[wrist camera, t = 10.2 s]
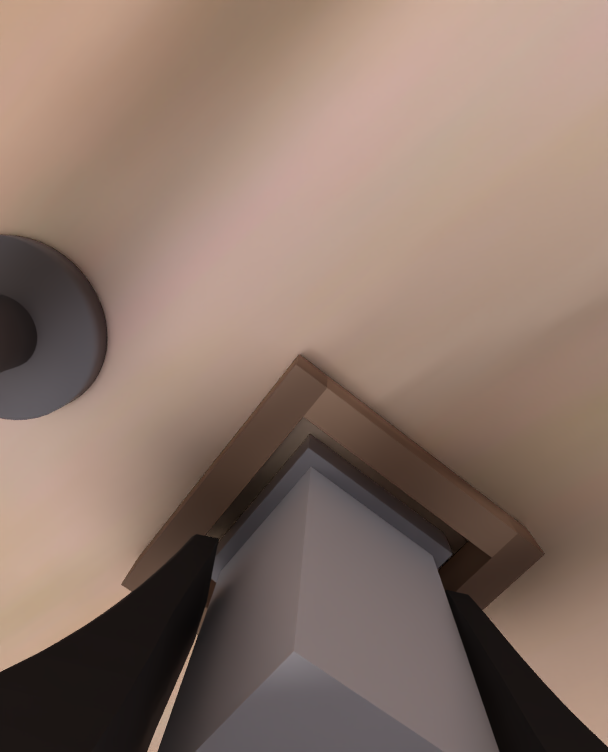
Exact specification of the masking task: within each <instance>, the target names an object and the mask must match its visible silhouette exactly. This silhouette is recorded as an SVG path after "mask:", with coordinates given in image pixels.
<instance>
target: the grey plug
mask: <svg viewBox="0 0 608 752" xmlns="http://www.w3.org/2000/svg"><path fill="white" fill-rule="evenodd" d="M452 554H453V553H452V551H451V548H450V546H449V544H448V541H447V539H446V536H445V534H444V533H443V532H442V531H440V530H439V529H437V528H436V527H435V526H433V525H432V524H431V523H429V522H428V521H427V520H425V519H424V518H423V517H421V516H420V515H419V514H417V513H416V512H415V511H413V510H412V509H411V508H409V507H408V506H407V505H405V504H404V503H402V502H401V501H400V500H398V499H397V498H396V497H394V496H393V495H392V494H390V493H389V492H388V491H386V490H385V489H384V488H382V487H381V486H380V485H378V484H377V483H376V482H374V481H373V480H372V479H370V478H369V477H367V476H366V475H365V474H363V473H362V472H361V471H359V470H358V469H357V468H355V467H354V466H353V465H351V464H350V463H349V462H347V461H346V460H345V459H343V458H342V457H341V456H339V455H338V454H337V453H335V452H334V451H332V450H331V449H330V448H328V447H327V446H326V445H324V444H323V443H322V442H320V441H319V440H318V439H316V438H315V437H314V436H312V435H311V434H309V436H308V437H307V438H306V439H305V440H304V441H303V443H302V444H301V445H300V446H299V447H298V449H297V450H296V451H295V452H294V453H293V455H292V456H291V457H290V458H289V459H288V460H287V462H286V463H285V464H284V465H283V466H282V468H281V469H280V470H279V471H278V472H277V474H276V475H275V476H274V477H273V478H272V479H271V481H270V482H269V483H268V484H267V485H266V487H265V488H264V489H263V490H262V491H261V493H260V494H259V495H258V496H257V497H256V498H255V500H254V501H253V502H252V503H251V504H250V506H249V507H248V508H247V509H246V510H245V512H244V513H243V514H242V515H241V516H240V517H239V519H238V520H237V521H236V522H235V523H234V525H233V526H232V527H231V528H230V529H229V531H228V532H227V533H226V534H225V535H224V536H223V538H222V539H221V540H220V541H219V542H218V545H217V551H216V556H215V561H214V566H213V572H212V577H211V579H212V580H213V581H215V582H216V586H215V589H214V591H213V594H212V597H211V600H210V603H209V606H208V609H207V611H206V614H205V617H204V620H203V623H202V626H201V629H200V632H199V634H198V637H197V640H196V643H195V646H194V649H193V652H192V655H191V657H190V660H189V663H188V666H187V669H186V672H185V675H184V678H183V680H182V683H181V686H180V689H179V692H178V695H177V698H176V701H175V703H174V706H173V709H172V712H171V715H170V718H169V721H168V723H167V726H166V729H165V732H164V735H163V738H162V741H161V744H160V746H159V749H158V752H499V749H498V746H497V743H496V740H495V737H494V735H493V732H492V729H491V726H490V723H489V720H488V717H487V714H486V711H485V708H484V705H483V702H482V699H481V696H480V693H479V690H478V688H477V685H476V682H475V679H474V676H473V673H472V670H471V667H470V664H469V661H468V658H467V655H466V652H465V649H464V646H463V643H462V640H461V638H460V635H459V632H458V629H457V626H456V623H455V620H454V617H453V614H452V611H451V608H450V605H449V602H448V599H447V596H446V593H445V590H444V588H443V585H442V582H441V579H440V576H439V573H438V570H437V569H438V568H439V567H440V566H441V565H442V564H443V563H444V562H445V561H446V560H447V559H448V558H449V557H450V556H451V555H452Z"/></svg>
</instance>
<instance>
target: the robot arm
mask: <svg viewBox="0 0 608 752" xmlns="http://www.w3.org/2000/svg"><path fill="white" fill-rule="evenodd" d="M218 540H219V539H217V538H212V537H208V536H203V535H199V534H196V535H194V536H192V537H191V538H190V539H189V540H188V541H187V542H186V543H185V544H184V546H183V547H182V548H181V549H180V550H179V551H178V552H177V553H176V554H175V555H174V556H172V557H171V558H170V559H169V560H168V561H167V562H166V563H165V564H164V565H163V566H162V567H161V568H160V569H158V570H157V571H156V572H155V573H154V574H153V575H152V576H150V577H149V578H148V579H147V580H146V581H145V582H144V583H142V584H141V585H140V586H139V587H137V588H136V589H135V590H134V591H132V592H131V593H130V594H128V595H127V596H126V597H125V598H123V599H122V600H121V601H120V602H118V603H117V604H116V605H114V606H113V607H111V608H110V609H109V610H107V611H106V612H104V613H103V614H102V615H100V616H99V617H97V618H96V619H94V620H93V621H91V622H90V623H88V624H87V625H85V626H84V627H82V628H80V629H79V630H77V631H75V632H74V633H72V634H70V635H69V636H67V637H65V638H64V639H62V640H60V641H59V642H57V643H55V644H54V645H52V646H50V647H48V648H47V649H45V650H43V651H41V652H39V653H37V654H36V655H34V656H32V657H30V658H28V659H26V660H24V661H22V662H20V663H18V664H15V665H13V666H11V667H9V668H7V669H5V670H3V671H1V672H0V752H147V750H148V748H149V745H150V743H151V740H152V738H153V735H154V733H155V730H156V728H157V725H158V723H159V721H160V719H161V716H162V714H163V712H164V709H165V707H166V705H167V703H168V700H169V698H170V696H171V693H172V691H173V689H174V686H175V684H176V682H177V680H178V677H179V675H180V673H181V670H182V668H183V666H184V663H185V661H186V659H187V657H188V654H189V652H190V650H191V647H192V645H193V643H194V640H195V637H196V634H197V631H198V628H199V625H200V622H201V619H202V615H203V612H204V609H205V606H206V603H207V598H208V593H209V588H210V582H211V577H212V572H213V566H214V561H215V556H216V551H217V545H218ZM445 593H446V596H447V599H448V602H449V605H450V608H451V611H452V614H453V617H454V620H455V623H456V626H457V629H458V632H459V635H460V638H461V640H462V643H463V646H464V649H465V652H466V655H467V658H468V661H469V664H470V667H471V670H472V673H473V676H474V679H475V682H476V685H477V688H478V690H479V693H480V696H481V699H482V702H483V705H484V708H485V711H486V714H487V717H488V720H489V723H490V726H491V729H492V732H493V735H494V737H495V740H496V743H497V746H498V749H499V752H608V747H607V746H606V745H605V744H604V743H603V742H602V741H601V740H600V739H599V738H598V737H597V736H596V735H595V734H594V733H593V732H592V731H590V730H589V729H588V728H587V727H586V726H585V725H584V724H583V723H582V722H581V721H580V720H579V719H578V718H577V717H576V716H575V715H574V714H573V713H572V712H571V711H570V710H569V709H568V708H567V707H566V706H565V705H564V704H563V703H562V702H561V700H560V699H559V698H558V697H557V696H556V695H555V694H554V693H553V692H552V691H551V690H550V689H549V688H548V687H547V685H546V684H545V683H544V682H543V681H542V680H541V679H540V678H539V677H538V676H537V674H536V673H535V672H534V671H533V670H532V669H531V668H530V667H529V665H528V664H527V663H526V662H525V661H524V660H523V658H522V657H521V656H520V655H519V654H518V653H517V651H516V650H515V649H514V648H513V647H512V646H511V644H510V643H509V642H508V641H507V640H506V638H505V637H504V636H503V635H502V634H501V632H500V631H499V630H498V629H497V628H496V626H495V625H494V624H493V623H492V622H491V620H490V619H489V618H488V617H487V616H486V614H485V613H484V612H483V611H482V610H481V608H480V607H479V606H478V605H477V604H476V603H475V601H474V600H473V599H472V598H471V597H470V596H469V595H468V594H463V593H459V592H454V591H450V590H446V591H445Z"/></svg>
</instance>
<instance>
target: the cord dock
mask: <svg viewBox="0 0 608 752" xmlns="http://www.w3.org/2000/svg"><path fill="white" fill-rule="evenodd" d="M106 343H107V333H106V324H105V318H104V314H103V311H102V308H101V304H100V302H99V300H98V298H97V295H96V293H95V292H94V290H93V288H92V286H91V285H90V283H89V282H88V280H87V279H86V278H85V276H84V275H83V274H82V272H81V271H80V270H79V269H78V268H77V267H76V266H75V265H74V264H73V263H72V262H71V261H70V260H68V259H67V258H66V257H65V256H64V255H62V254H61V253H59V252H58V251H56V250H55V249H53V248H51V247H49V246H47V245H45V244H43V243H41V242H38V241H36V240H33V239H30V238H25V237H20V236H12V235H0V418H2V419H11V420H27V419H32V418H38V417H41V416H44V415H47V414H49V413H51V412H53V411H55V410H57V409H59V408H61V407H63V406H64V405H66V404H68V403H70V402H72V401H73V400H75V399H76V398H78V397H79V396H80V395H82V394H83V393H84V392H85V391H86V390H87V389H88V388H89V387H90V386H91V384H92V383H93V382H94V380H95V379H96V377H97V375H98V373H99V372H100V369H101V366H102V364H103V361H104V357H105V352H106ZM303 417H304V418H306V419H307V420H308V421H310V422H311V423H312V424H314V425H315V426H316V427H318V428H319V429H320V430H322V431H323V432H324V433H326V434H327V435H328V436H330V437H331V438H332V439H334V440H335V441H336V442H338V443H339V444H340V445H342V446H343V447H344V448H346V449H347V450H348V451H350V452H351V453H352V454H354V455H355V456H356V457H358V458H359V459H360V460H362V461H363V462H364V463H366V464H367V465H369V466H370V467H371V468H373V469H374V470H375V471H377V472H378V473H379V474H381V475H382V476H383V477H385V478H386V479H387V480H389V481H390V482H391V483H393V484H394V485H395V486H397V487H398V488H399V489H401V490H402V491H403V492H405V493H406V494H407V495H409V496H410V497H411V498H413V499H414V500H415V501H417V502H418V503H419V504H421V505H422V506H423V507H425V508H426V509H427V510H429V511H430V512H431V513H433V514H434V515H435V516H437V517H438V518H439V519H441V520H442V521H443V522H445V523H446V524H447V525H449V526H450V527H451V528H453V529H454V530H455V531H457V532H458V533H459V534H461V535H462V536H463V537H465V538H466V539H467V540H469V541H468V542H467V543H466V544H465V545H464V546H463V547H462V548H461V549H460V550H459V551H458V552H457V553H456V554H455V555H454V556H453V557H452V558H451V559H450V560H449V561H448V562H447V563H446V564H445V565H444V566H443V567H441V568H440V569H439V570H438V573H439V576H440V579H441V582H442V585H443V588H444V590H445V591H446V590H450V591H454V592H459V593H463V594H468V595H469V596H470V597H471V598H472V599H473V600H474V601H475V603H476V604H477V605H478V606H479V607H480V608H481V610H483V609H484V608H485V607H486V606H488V605H489V604H490V603H491V602H492V601H493V600H494V599H495V598H496V597H498V596H499V595H500V594H501V593H502V592H503V591H504V590H505V589H506V588H508V587H509V586H510V585H511V584H512V583H513V582H514V581H515V580H516V579H518V578H519V577H520V576H521V575H522V574H523V573H524V572H525V571H526V570H527V569H529V568H530V567H531V566H532V565H533V564H534V563H535V562H536V561H537V560H539V559H540V558H541V557H542V556H543V555H544V552H543V551H542V549H541V548H540V547H539V545H538V544H537V542H536V541H535V540H534V538H533V537H532V535H531V534H530V533H529V531H528V530H527V528H525V527H524V526H523V525H521V524H520V523H519V522H517V521H516V520H515V519H514V518H512V517H511V516H510V515H508V514H507V513H506V512H504V511H503V510H502V509H500V508H499V507H498V506H497V505H495V504H494V503H493V502H491V501H490V500H489V499H487V498H486V497H485V496H484V495H482V494H481V493H480V492H478V491H477V490H476V489H474V488H473V487H472V486H470V485H469V484H468V483H467V482H465V481H464V480H463V479H461V478H460V477H459V476H457V475H456V474H455V473H454V472H452V471H451V470H450V469H448V468H447V467H446V466H444V465H443V464H442V463H440V462H439V461H438V460H437V459H435V458H434V457H433V456H431V455H430V454H429V453H427V452H426V451H425V450H424V449H422V448H421V447H420V446H418V445H417V444H416V443H414V442H413V441H412V440H411V439H409V438H408V437H407V436H405V435H404V434H403V433H401V432H400V431H399V430H397V429H396V428H395V427H394V426H392V425H391V424H390V423H388V422H387V421H386V420H384V419H383V418H382V417H381V416H379V415H378V414H377V413H375V412H374V411H373V410H371V409H370V408H369V407H367V406H366V405H365V404H364V403H362V402H361V401H360V400H358V399H357V398H356V397H354V396H353V395H352V394H351V393H349V392H348V391H347V390H345V389H344V388H343V387H341V386H340V385H339V384H337V383H336V382H335V381H334V380H332V379H331V378H330V377H328V376H327V375H326V374H324V373H323V372H322V371H321V370H319V369H318V368H317V367H315V366H314V365H313V364H311V363H310V362H309V361H307V360H306V359H305V358H304V357H302V356H301V355H300V354H299V355H298V356H297V358H296V359H295V360H294V361H293V363H292V364H291V365H290V367H289V368H288V369H287V370H286V372H285V373H284V374H283V375H282V377H281V378H280V379H279V380H278V382H277V383H276V384H275V385H274V387H273V388H272V389H271V391H270V392H269V393H268V394H267V396H266V397H265V398H264V399H263V401H262V402H261V403H260V404H259V406H258V407H257V408H256V410H255V411H254V412H253V413H252V415H251V416H250V417H249V418H248V420H247V421H246V422H245V423H244V425H243V426H242V427H241V428H240V430H239V431H238V432H237V434H236V435H235V436H234V437H233V439H232V440H231V441H230V442H229V444H228V445H227V446H226V447H225V449H224V450H223V451H222V453H221V454H220V455H219V456H218V458H217V459H216V460H215V461H214V463H213V464H212V465H211V466H210V468H209V469H208V470H207V472H206V473H205V474H204V475H203V477H202V478H201V479H200V480H199V482H198V483H197V484H196V485H195V487H194V488H193V489H192V490H191V492H190V493H189V494H188V496H187V497H186V498H185V499H184V501H183V502H182V503H181V504H180V506H179V507H178V508H177V509H176V511H175V512H174V513H173V515H172V516H171V517H170V518H169V520H168V521H167V522H166V523H165V525H164V526H163V527H162V528H161V530H160V531H159V532H158V533H157V535H156V536H155V537H154V539H153V540H152V541H151V542H150V544H149V545H148V546H147V547H146V549H145V550H144V551H143V552H142V554H141V555H140V556H139V558H138V559H137V560H136V562H135V564H134V565H133V567H132V568H131V570H130V571H129V573H128V575H127V576H126V578H125V579H124V581H123V582H122V584H121V585H123V586H124V587H126V588H127V589H129V590H130V591H134V590H135V589H136V588H137V587H139V586H140V585H141V584H142V583H144V582H145V581H146V580H147V579H148V578H149V577H150V576H152V575H153V574H154V573H155V572H156V571H157V570H158V569H160V568H161V567H162V566H163V565H164V564H165V563H166V562H167V561H168V560H169V559H170V558H171V557H172V556H174V555H175V554H176V553H177V552H178V551H179V550H180V549H181V548H182V547H183V546H184V544H185V543H186V542H187V541H188V540H189V539H190V538H191V537H192V536H194V535H196V534H199V535H203V536H205V535H206V533H207V532H208V531H209V530H210V529H211V527H212V526H213V525H214V524H215V523H216V521H217V520H218V519H219V518H220V517H221V515H222V514H223V513H224V512H225V510H226V509H227V508H228V507H229V506H230V504H231V503H232V502H233V501H234V500H235V498H236V497H237V496H238V495H239V494H240V492H241V491H242V490H243V489H244V488H245V486H246V485H247V484H248V483H249V482H250V480H251V479H252V478H253V477H254V476H255V474H256V473H257V472H258V471H259V469H260V468H261V467H262V466H263V465H264V463H265V462H266V461H267V460H268V459H269V457H270V456H271V455H272V454H273V453H274V451H275V450H276V449H277V448H278V447H279V445H280V444H281V443H282V442H283V441H284V439H285V438H286V437H287V436H288V434H289V433H290V432H291V431H292V430H293V428H294V427H295V426H296V425H297V424H298V422H299V421H300V420H301V419H302V418H303ZM215 586H216V582H215V581H213V580H212V579H211V582H210V588H209V593H208V598H207V603H206V606H205V609H204V612H203V615H202V619H201V622H200V625H199V628H198V631H197V635H198V634H199V632H200V629H201V626H202V623H203V620H204V617H205V614H206V611H207V609H208V606H209V603H210V600H211V597H212V594H213V591H214V589H215Z"/></svg>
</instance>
